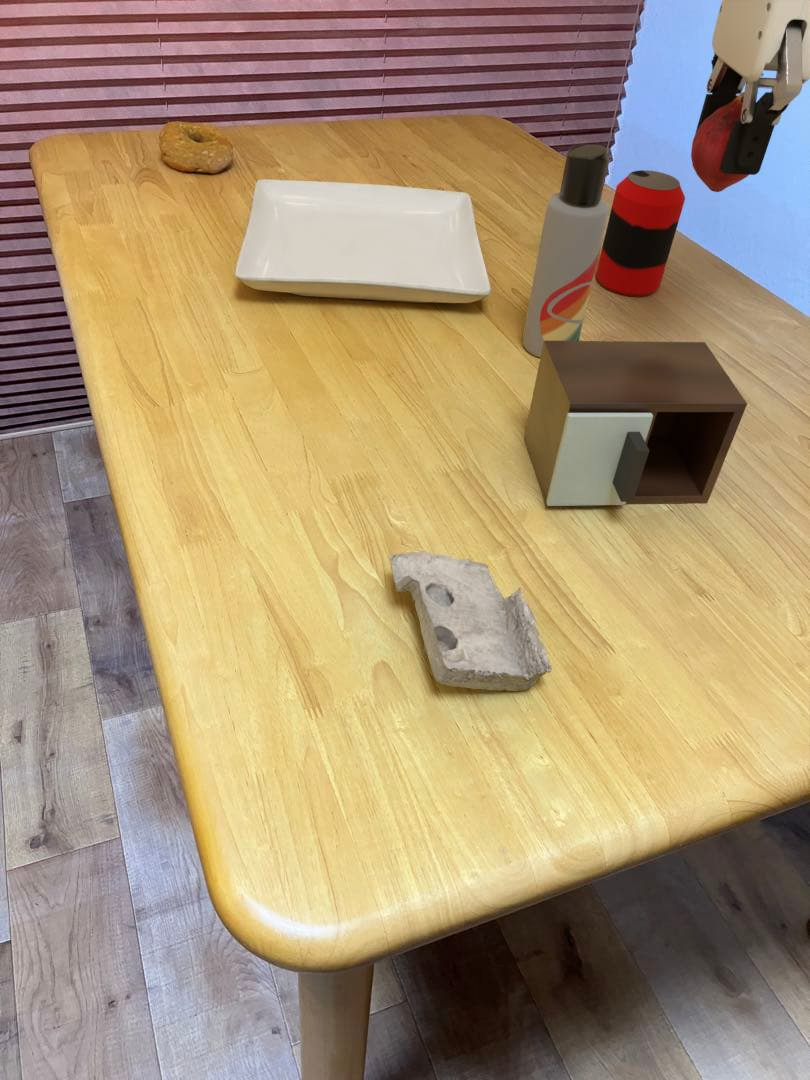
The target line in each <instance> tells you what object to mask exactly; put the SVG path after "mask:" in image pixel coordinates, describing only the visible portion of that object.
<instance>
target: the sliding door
mask: <svg viewBox="0 0 810 1080" xmlns="http://www.w3.org/2000/svg"><path fill="white" fill-rule="evenodd" d="M652 419H653V415H652V413H567V417H566V421H565V425H564V429H563V434H562V438H561V442H560V446H559V450H558V455H557V459H556V463H555V467H554V472H553V476H552V480H551V484H550V488H549V493H548V497H547V501H545V504H546V503H547V504H546V506H547V507H562V506H563V507H564V506H566V507H568V506H569V507H573V506H625V505H627V504H626V502H633V500H634V497H635V493H636V490H637V487H638V484H639V481H640V478H641V475H642V472H643V469H644V466H645V463H646V460H647V457H648V454H649V449H648V447H647V445H646V443H645V441H646V438H647V435H648V431H649V428H650V425H651V422H652Z"/></svg>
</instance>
